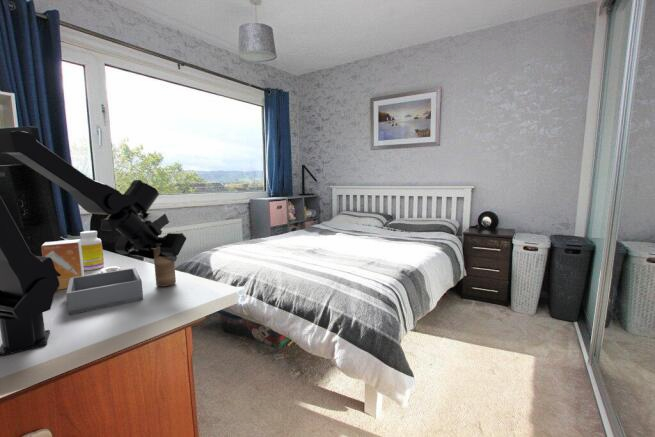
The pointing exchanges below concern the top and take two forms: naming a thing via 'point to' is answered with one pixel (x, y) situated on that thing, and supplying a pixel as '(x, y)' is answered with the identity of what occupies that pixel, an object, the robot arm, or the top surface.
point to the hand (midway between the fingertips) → (167, 259)
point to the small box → (65, 259)
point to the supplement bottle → (91, 250)
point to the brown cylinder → (163, 269)
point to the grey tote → (103, 290)
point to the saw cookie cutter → (109, 269)
